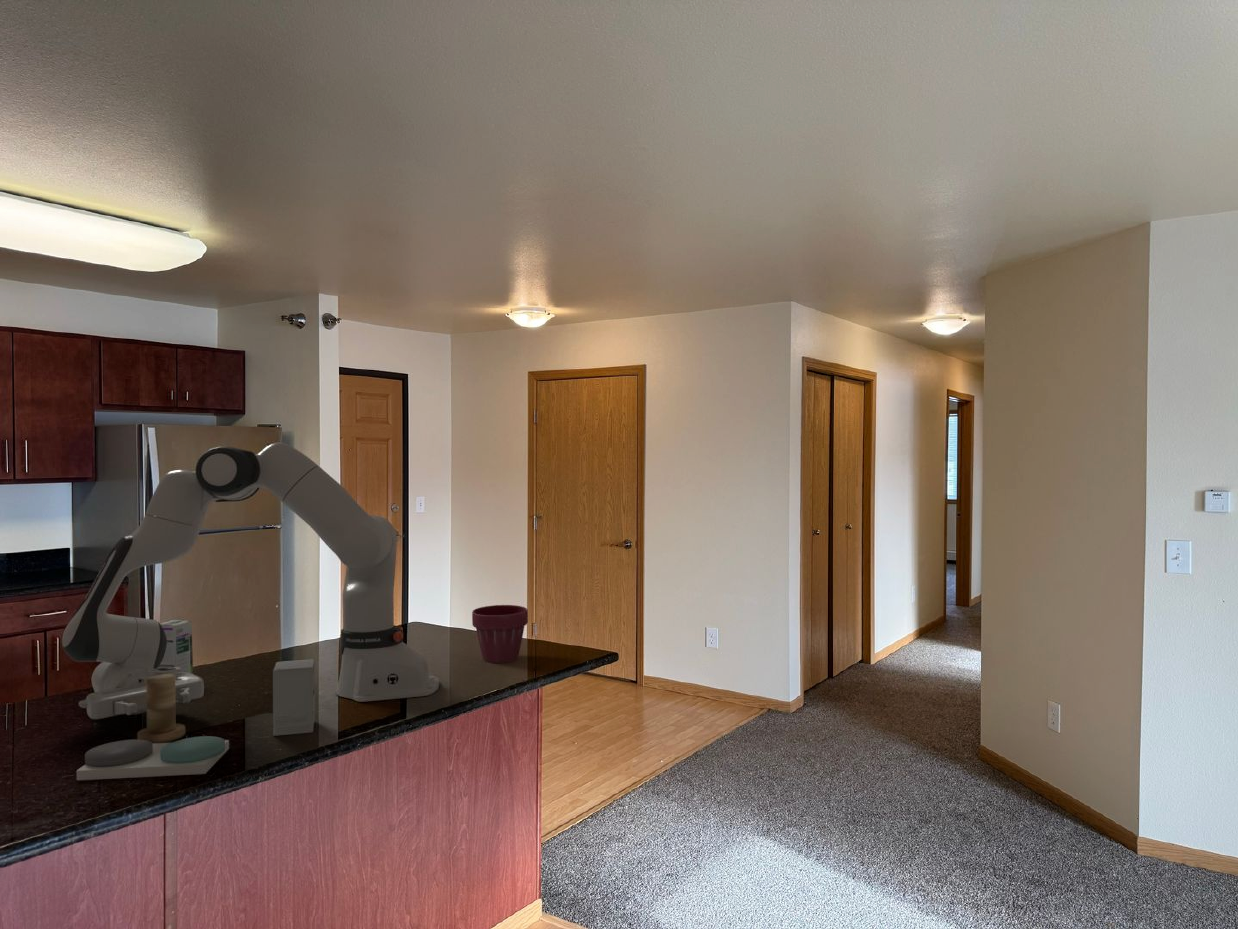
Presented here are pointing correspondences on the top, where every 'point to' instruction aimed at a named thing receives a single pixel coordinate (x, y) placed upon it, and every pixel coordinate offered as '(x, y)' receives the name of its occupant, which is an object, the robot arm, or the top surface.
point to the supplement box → (293, 697)
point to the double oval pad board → (152, 758)
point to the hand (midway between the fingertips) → (160, 704)
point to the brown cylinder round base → (161, 711)
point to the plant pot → (500, 631)
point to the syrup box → (178, 645)
